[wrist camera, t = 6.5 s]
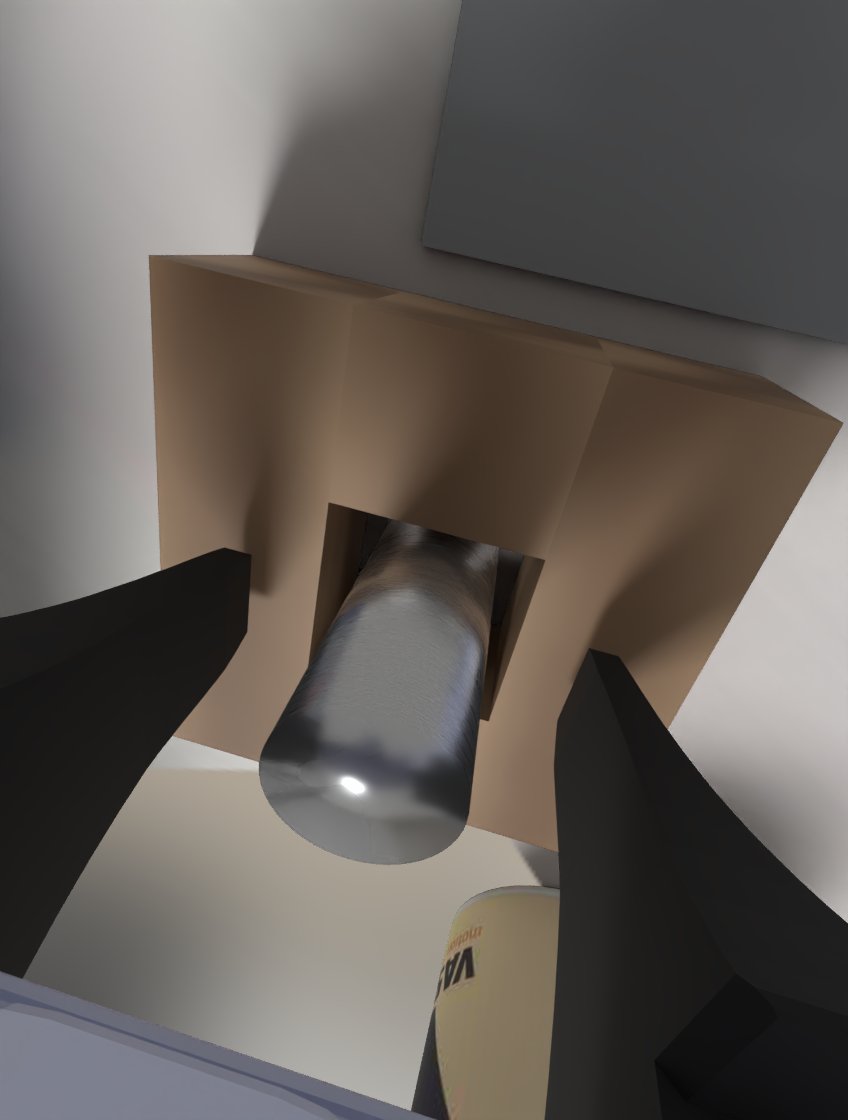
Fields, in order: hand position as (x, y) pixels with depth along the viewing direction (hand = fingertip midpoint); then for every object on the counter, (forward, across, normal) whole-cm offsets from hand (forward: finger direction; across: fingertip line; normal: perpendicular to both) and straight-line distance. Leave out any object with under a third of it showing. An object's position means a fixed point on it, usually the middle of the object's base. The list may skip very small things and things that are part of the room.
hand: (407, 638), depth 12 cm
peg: (+5, 0, 0) cm, 5 cm away
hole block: (+5, 0, 0) cm, 5 cm away
